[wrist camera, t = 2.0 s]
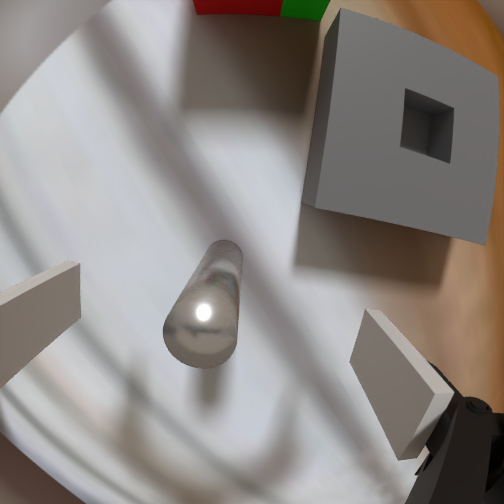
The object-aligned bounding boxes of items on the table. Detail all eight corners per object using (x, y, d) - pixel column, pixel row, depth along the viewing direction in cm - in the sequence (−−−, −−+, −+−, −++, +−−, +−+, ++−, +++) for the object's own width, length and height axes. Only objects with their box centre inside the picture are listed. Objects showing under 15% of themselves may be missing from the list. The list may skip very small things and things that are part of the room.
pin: (203, 272, 24) (161, 361, 12) (208, 237, 24) (165, 296, 11) (239, 278, 24) (231, 373, 12) (245, 242, 24) (242, 308, 11)
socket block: (301, 203, 23) (314, 207, 18) (324, 36, 20) (340, 8, 16) (450, 234, 24) (485, 245, 19) (465, 88, 21) (498, 76, 16)
